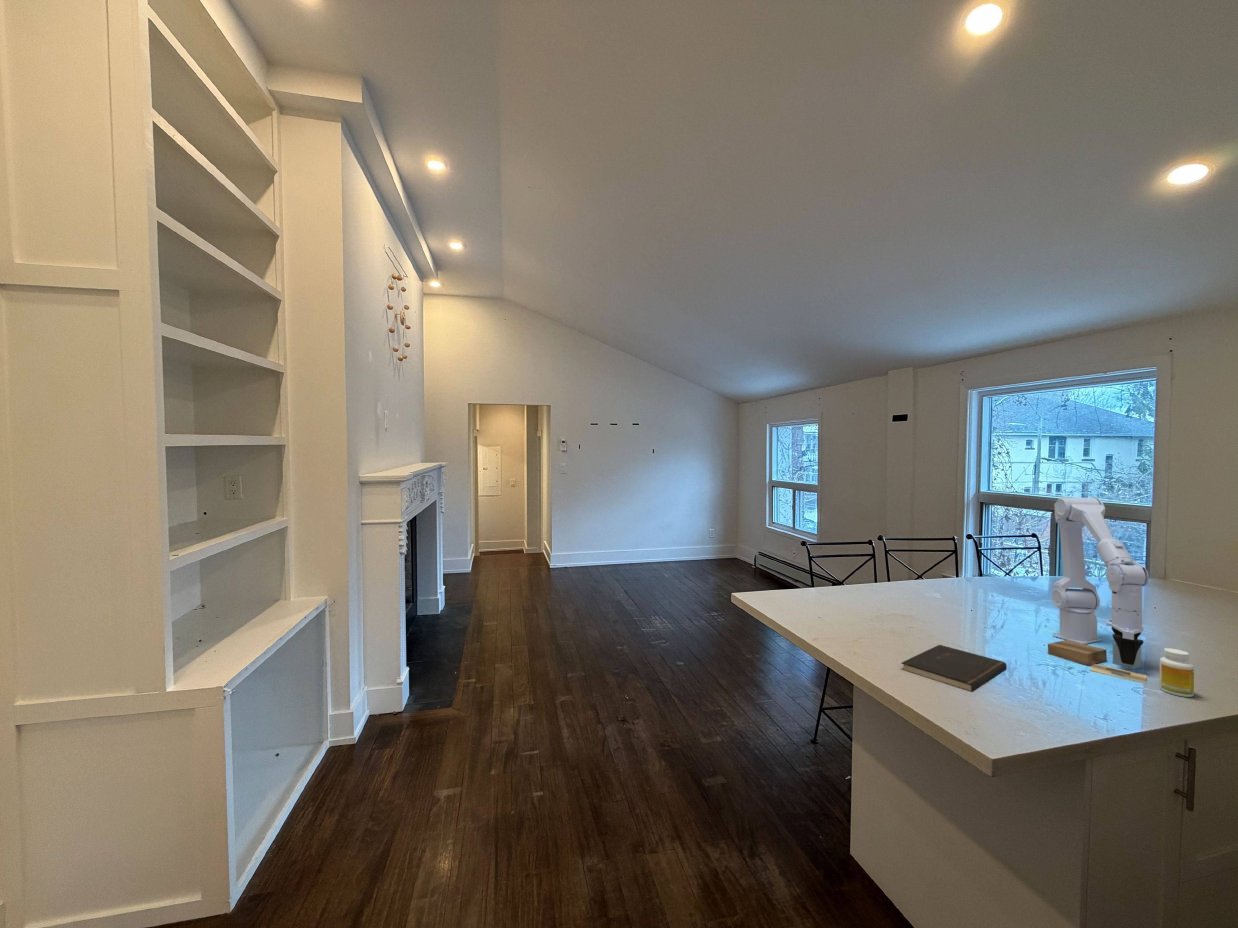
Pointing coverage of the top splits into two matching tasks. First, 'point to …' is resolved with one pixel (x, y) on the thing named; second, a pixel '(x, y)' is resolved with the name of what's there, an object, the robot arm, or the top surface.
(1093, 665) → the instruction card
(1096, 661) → the walnut slab
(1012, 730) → the top surface
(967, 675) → the hardcover book
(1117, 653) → the gray brick
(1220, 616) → the top surface
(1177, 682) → the supplement bottle
